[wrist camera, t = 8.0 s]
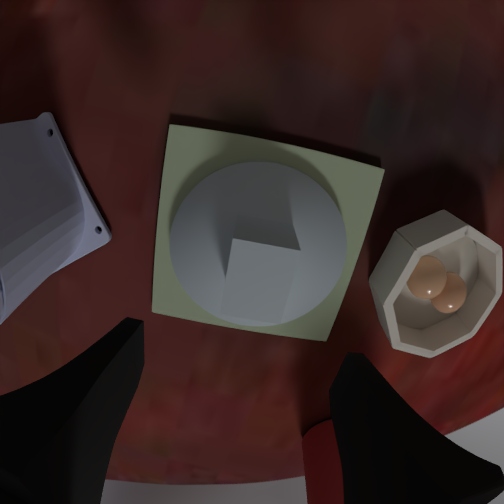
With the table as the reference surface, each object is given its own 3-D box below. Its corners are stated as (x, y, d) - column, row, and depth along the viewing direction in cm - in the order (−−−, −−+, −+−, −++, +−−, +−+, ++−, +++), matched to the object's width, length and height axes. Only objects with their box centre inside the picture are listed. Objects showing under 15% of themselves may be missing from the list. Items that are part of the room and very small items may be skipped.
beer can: (288, 443, 28) (294, 550, 17) (328, 406, 25) (349, 530, 14) (340, 453, 29) (355, 548, 18) (380, 419, 26) (410, 524, 15)
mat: (153, 307, 21) (152, 311, 21) (172, 124, 16) (169, 124, 16) (325, 337, 22) (326, 341, 21) (381, 168, 17) (384, 169, 17)
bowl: (357, 245, 19) (373, 266, 16) (473, 196, 17) (499, 209, 15) (385, 346, 22) (397, 373, 19) (481, 300, 21) (500, 320, 18)
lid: (167, 303, 20) (149, 345, 16) (184, 146, 16) (161, 155, 12) (316, 329, 21) (327, 373, 17) (363, 182, 17) (392, 203, 13)
